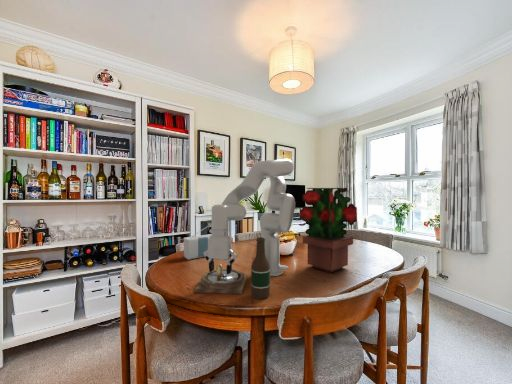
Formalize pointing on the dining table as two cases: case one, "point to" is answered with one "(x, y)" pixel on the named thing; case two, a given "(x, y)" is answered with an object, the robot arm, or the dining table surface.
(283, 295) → the dining table surface
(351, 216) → the potted plant
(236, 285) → the dial housing
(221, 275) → the dial
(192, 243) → the stereo radio cassette player
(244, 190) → the robot arm
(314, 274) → the dining table surface
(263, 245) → the beer bottle
